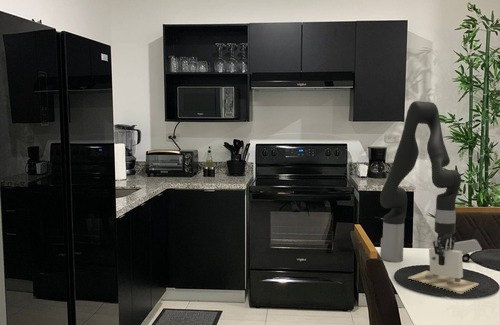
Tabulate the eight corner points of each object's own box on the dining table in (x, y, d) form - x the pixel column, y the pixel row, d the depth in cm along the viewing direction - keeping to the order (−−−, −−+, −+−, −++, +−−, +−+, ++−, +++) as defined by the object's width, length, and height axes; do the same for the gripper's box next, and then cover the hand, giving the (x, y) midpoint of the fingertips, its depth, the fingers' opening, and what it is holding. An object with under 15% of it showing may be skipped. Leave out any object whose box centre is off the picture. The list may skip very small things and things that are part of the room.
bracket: (450, 265, 230) (484, 258, 223) (443, 245, 231) (476, 236, 224) (451, 263, 234) (485, 256, 226) (444, 243, 235) (477, 235, 228)
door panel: (429, 274, 200) (427, 249, 200) (434, 272, 202) (432, 247, 202) (458, 278, 191) (457, 252, 191) (463, 276, 193) (461, 251, 193)
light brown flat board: (408, 279, 202) (408, 273, 201) (426, 272, 211) (426, 267, 211) (461, 294, 185) (461, 287, 185) (478, 286, 194) (478, 279, 194)
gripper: (445, 217, 203) (443, 259, 205) (426, 221, 194) (425, 265, 196) (463, 220, 198) (461, 263, 199) (445, 224, 189) (443, 269, 190)
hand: (443, 263), depth 197 cm, fingers closed on door panel, 3 cm apart
